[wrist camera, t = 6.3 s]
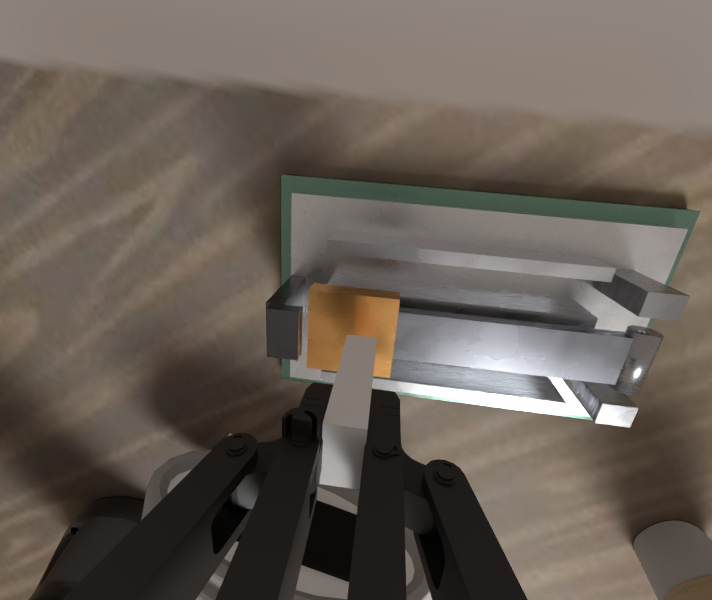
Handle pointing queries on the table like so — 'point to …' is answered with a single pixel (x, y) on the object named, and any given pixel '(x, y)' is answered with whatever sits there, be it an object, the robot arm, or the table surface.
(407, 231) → the heatsink
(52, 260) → the table surface
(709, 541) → the coffee cup
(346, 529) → the alarm clock
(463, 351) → the orange tipped grey lever
